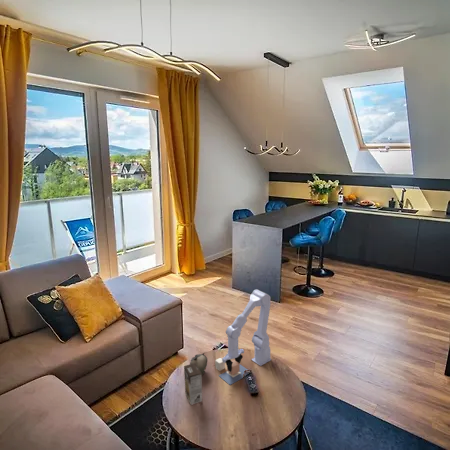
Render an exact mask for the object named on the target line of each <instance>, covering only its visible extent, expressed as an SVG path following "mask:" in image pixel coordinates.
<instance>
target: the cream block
mask: <svg viewBox="0 0 450 450" xmlns="http://www.w3.org/2000/svg"><path fill="white" fill-rule="evenodd" d="M222 358H223V357H219V358H216V359H215V361H214V362H215V363H214V365H215V366H214V367H215V369H216V370H218V372H221V371H223V370H225V369H226V363H224V362H223V361H222Z"/></svg>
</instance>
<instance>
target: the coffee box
mask: <svg viewBox="0 0 450 450" xmlns="http://www.w3.org/2000/svg"><path fill="white" fill-rule="evenodd" d="M183 373H184V391H185V392H184V394H185V395H186V398H187V400H188V402H189V404H190V405H192V406H193V405H195V404H197V403H198V404H199V403H200V402H203V386H202V385H203V383H202V382H203V380H202V379H203V377H202V376H203V375H201V371H200V370H199V368H198V367H197V365H196V363H194V364H190V363H189V364H187V365H184V366H183Z"/></svg>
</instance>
